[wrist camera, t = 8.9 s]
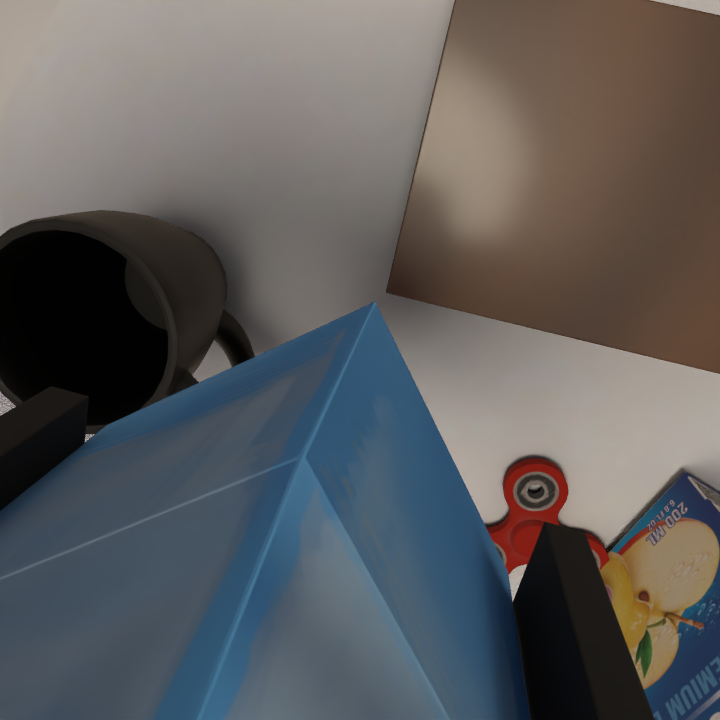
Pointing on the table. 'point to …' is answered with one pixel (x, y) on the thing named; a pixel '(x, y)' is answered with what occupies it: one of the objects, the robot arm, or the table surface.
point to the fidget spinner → (533, 512)
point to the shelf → (574, 175)
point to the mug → (110, 311)
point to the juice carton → (672, 600)
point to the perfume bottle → (261, 556)
